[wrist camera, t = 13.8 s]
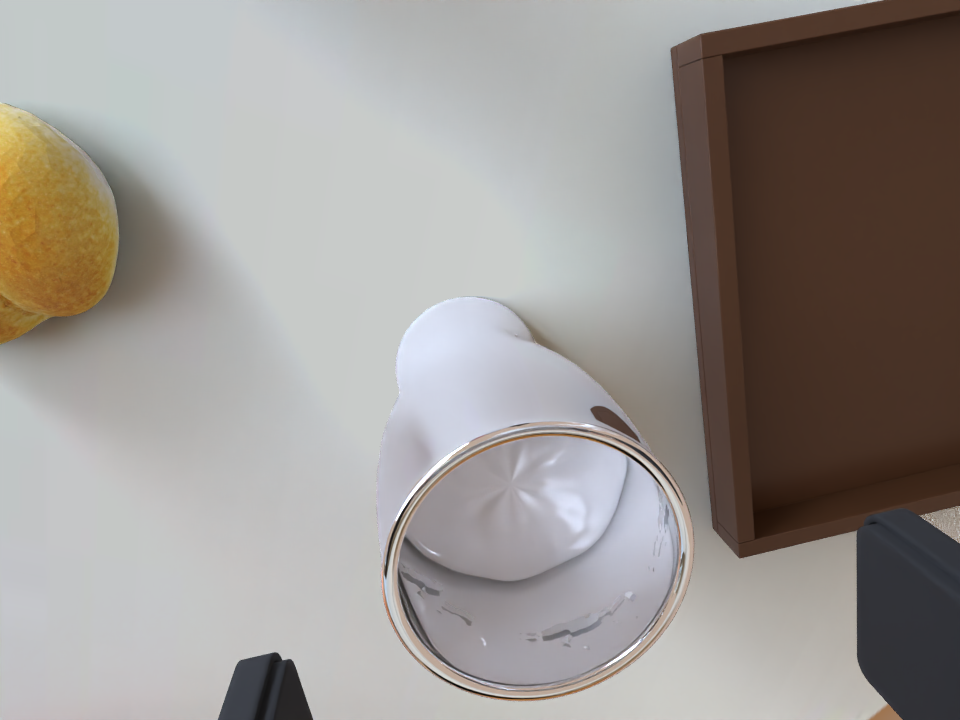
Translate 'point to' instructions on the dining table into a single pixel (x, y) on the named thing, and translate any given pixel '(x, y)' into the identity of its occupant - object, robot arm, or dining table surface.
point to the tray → (825, 265)
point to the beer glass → (520, 513)
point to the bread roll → (50, 225)
